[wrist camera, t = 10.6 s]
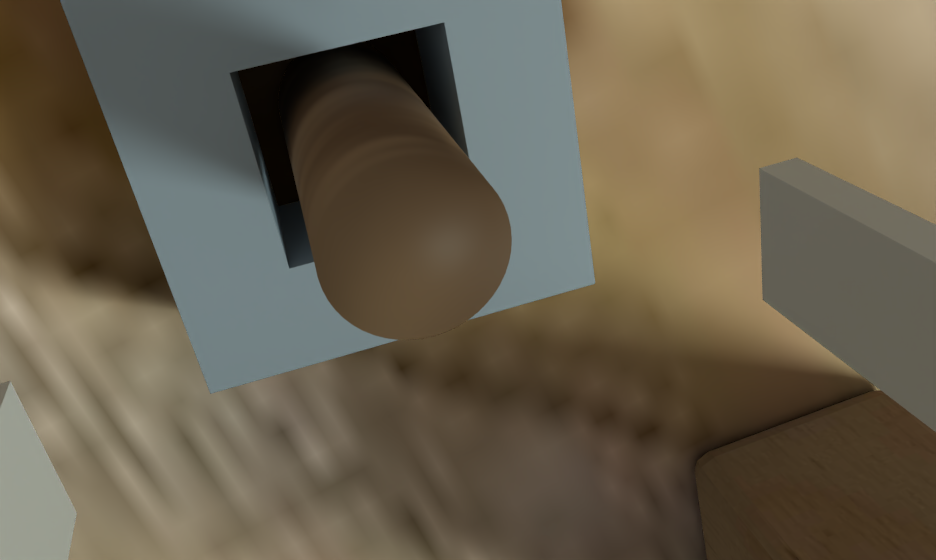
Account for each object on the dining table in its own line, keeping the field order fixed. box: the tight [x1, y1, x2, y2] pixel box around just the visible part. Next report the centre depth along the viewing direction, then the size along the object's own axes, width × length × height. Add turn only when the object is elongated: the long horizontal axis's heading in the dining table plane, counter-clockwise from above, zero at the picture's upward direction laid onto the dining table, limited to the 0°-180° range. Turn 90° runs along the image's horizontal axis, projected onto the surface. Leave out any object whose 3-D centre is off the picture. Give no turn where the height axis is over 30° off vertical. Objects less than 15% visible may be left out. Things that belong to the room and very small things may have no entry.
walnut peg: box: [278, 42, 512, 340], centre depth 23 cm, size 4×4×12 cm
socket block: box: [60, 0, 595, 394], centre depth 26 cm, size 12×12×5 cm
